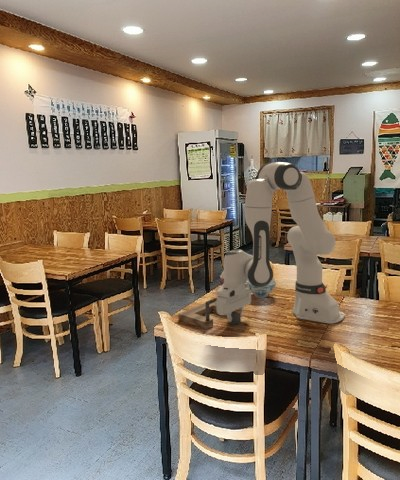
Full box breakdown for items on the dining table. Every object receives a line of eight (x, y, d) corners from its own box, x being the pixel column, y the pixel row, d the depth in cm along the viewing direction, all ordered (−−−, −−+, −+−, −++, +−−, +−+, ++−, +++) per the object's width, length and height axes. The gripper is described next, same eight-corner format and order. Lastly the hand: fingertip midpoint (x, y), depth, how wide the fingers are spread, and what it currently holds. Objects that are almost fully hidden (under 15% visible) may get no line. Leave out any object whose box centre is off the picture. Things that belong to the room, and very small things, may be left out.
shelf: (237, 313, 184) (237, 290, 182) (206, 329, 168) (205, 303, 166) (211, 306, 195) (210, 283, 193) (178, 320, 179) (177, 295, 176)
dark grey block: (243, 322, 174) (243, 309, 173) (236, 325, 171) (236, 313, 170) (233, 319, 178) (233, 307, 177) (226, 322, 174) (226, 310, 173)
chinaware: (280, 293, 211) (280, 279, 209) (269, 302, 198) (269, 287, 197) (253, 289, 219) (253, 275, 217) (241, 297, 206) (241, 282, 205)
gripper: (242, 280, 181) (243, 310, 184) (213, 292, 166) (214, 324, 169) (254, 283, 177) (254, 313, 179) (225, 295, 162) (226, 328, 164)
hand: (234, 318), depth 174 cm, fingers closed on dark grey block, 5 cm apart
